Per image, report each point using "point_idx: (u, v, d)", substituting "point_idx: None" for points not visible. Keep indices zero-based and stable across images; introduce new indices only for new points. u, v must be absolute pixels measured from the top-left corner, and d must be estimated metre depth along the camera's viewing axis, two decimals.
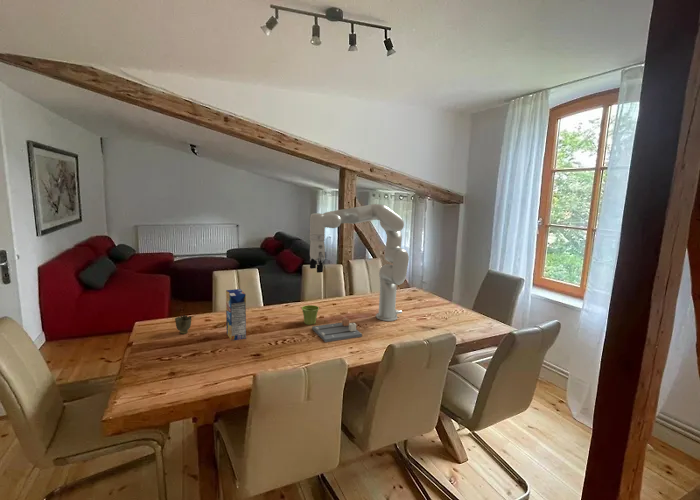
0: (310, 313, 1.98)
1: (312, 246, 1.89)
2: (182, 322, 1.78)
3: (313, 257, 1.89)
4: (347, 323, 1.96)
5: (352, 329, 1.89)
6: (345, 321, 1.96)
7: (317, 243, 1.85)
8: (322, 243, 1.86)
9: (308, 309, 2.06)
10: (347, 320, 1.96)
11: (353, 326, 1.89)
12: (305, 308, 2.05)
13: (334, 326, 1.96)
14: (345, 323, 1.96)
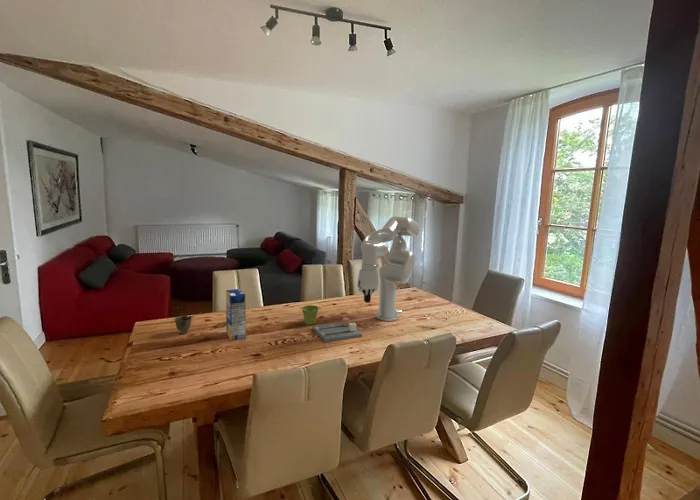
0: (310, 313, 1.98)
1: (371, 276, 1.87)
2: (182, 322, 1.78)
3: (371, 287, 1.89)
4: (347, 323, 1.96)
5: (352, 329, 1.89)
6: (345, 321, 1.96)
7: None
8: None
9: (308, 309, 2.06)
10: (347, 320, 1.96)
11: (353, 326, 1.89)
12: (305, 308, 2.05)
13: (334, 326, 1.96)
14: (345, 323, 1.96)
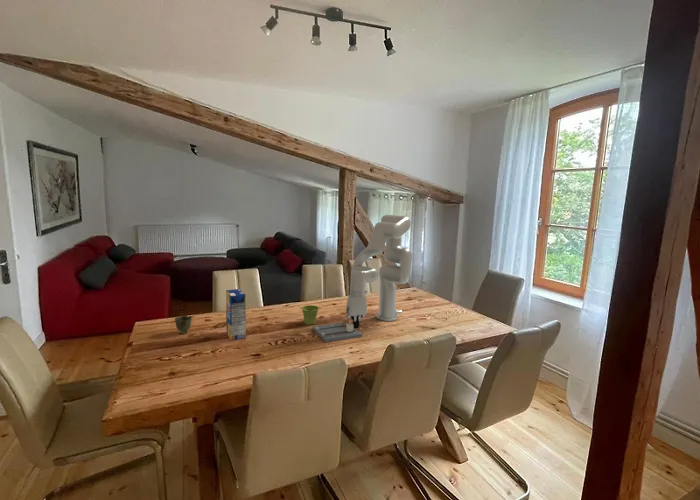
0: (310, 313, 1.98)
1: (359, 303, 1.87)
2: (182, 322, 1.78)
3: (360, 313, 1.88)
4: (347, 323, 1.96)
5: (349, 330, 1.88)
6: (345, 321, 1.96)
7: (365, 297, 1.89)
8: None
9: (308, 309, 2.06)
10: (347, 320, 1.96)
11: (350, 326, 1.88)
12: (305, 308, 2.05)
13: (334, 326, 1.96)
14: (345, 323, 1.96)
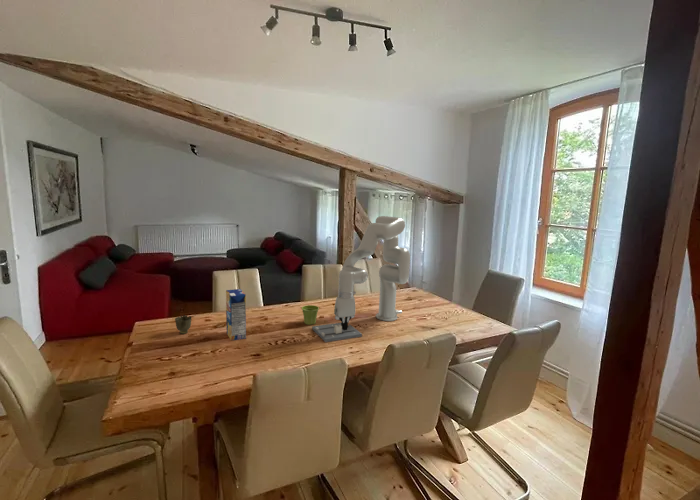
0: (310, 313, 1.98)
1: (347, 304, 1.84)
2: (182, 322, 1.78)
3: (348, 314, 1.85)
4: None
5: (337, 331, 1.85)
6: None
7: (354, 299, 1.86)
8: None
9: (308, 309, 2.06)
10: None
11: (338, 328, 1.85)
12: (305, 308, 2.05)
13: None
14: None
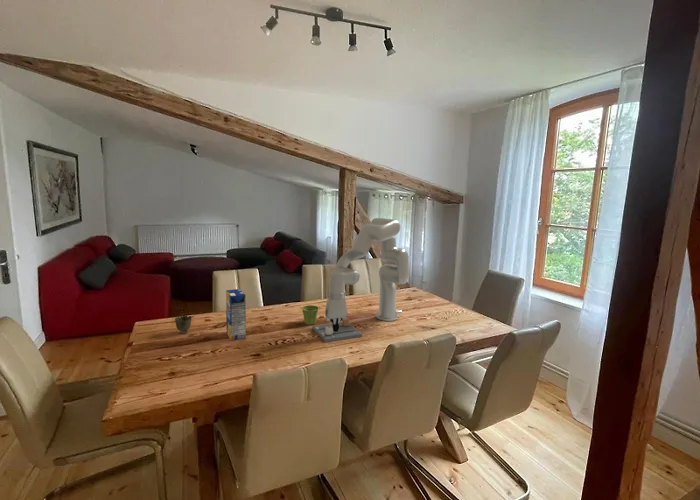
0: (310, 313, 1.98)
1: (338, 305, 1.82)
2: (182, 322, 1.78)
3: (339, 316, 1.83)
4: (347, 323, 1.96)
5: (328, 333, 1.83)
6: (345, 321, 1.96)
7: (345, 300, 1.84)
8: None
9: (308, 309, 2.06)
10: (347, 320, 1.96)
11: (329, 329, 1.83)
12: (305, 308, 2.05)
13: None
14: (345, 323, 1.96)
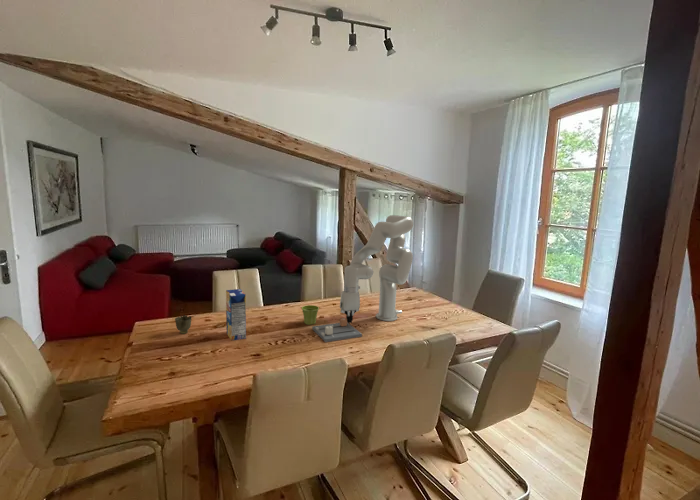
0: (310, 313, 1.98)
1: (352, 298, 1.94)
2: (182, 322, 1.78)
3: (353, 308, 1.95)
4: (345, 323, 1.96)
5: (328, 333, 1.83)
6: (343, 321, 1.95)
7: None
8: None
9: (308, 309, 2.06)
10: (345, 320, 1.95)
11: (329, 329, 1.83)
12: (305, 308, 2.05)
13: (334, 326, 1.96)
14: (343, 323, 1.95)
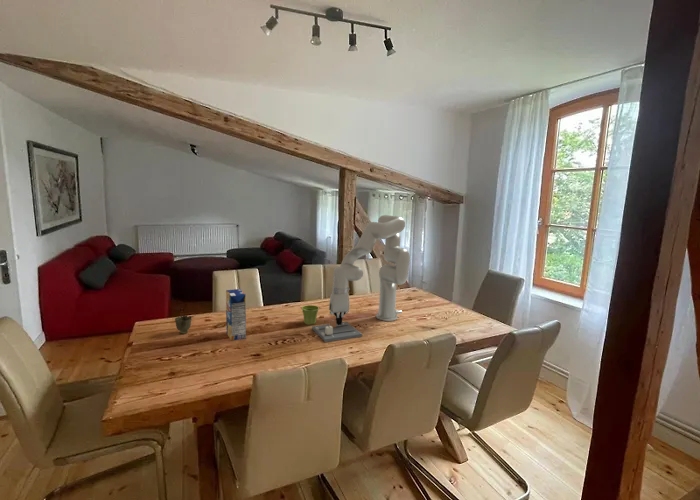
0: (310, 313, 1.98)
1: (342, 300, 1.91)
2: (182, 322, 1.78)
3: (342, 310, 1.93)
4: (334, 325, 1.93)
5: (328, 333, 1.83)
6: (332, 323, 1.92)
7: (348, 294, 1.94)
8: None
9: (308, 309, 2.06)
10: (334, 322, 1.93)
11: (329, 329, 1.83)
12: (305, 308, 2.05)
13: None
14: (332, 325, 1.93)
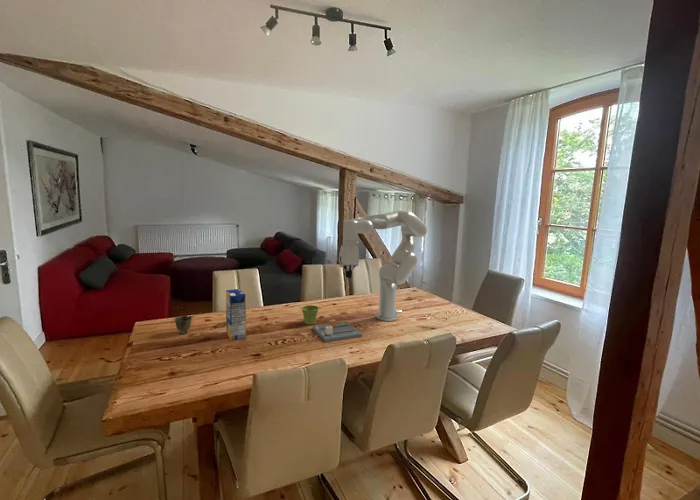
0: (310, 313, 1.98)
1: (351, 252, 1.93)
2: (182, 322, 1.78)
3: (352, 262, 1.94)
4: (334, 325, 1.93)
5: (328, 333, 1.83)
6: (332, 323, 1.92)
7: None
8: None
9: (308, 309, 2.06)
10: (334, 322, 1.93)
11: (329, 329, 1.83)
12: (305, 308, 2.05)
13: None
14: (332, 325, 1.93)
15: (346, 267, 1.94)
